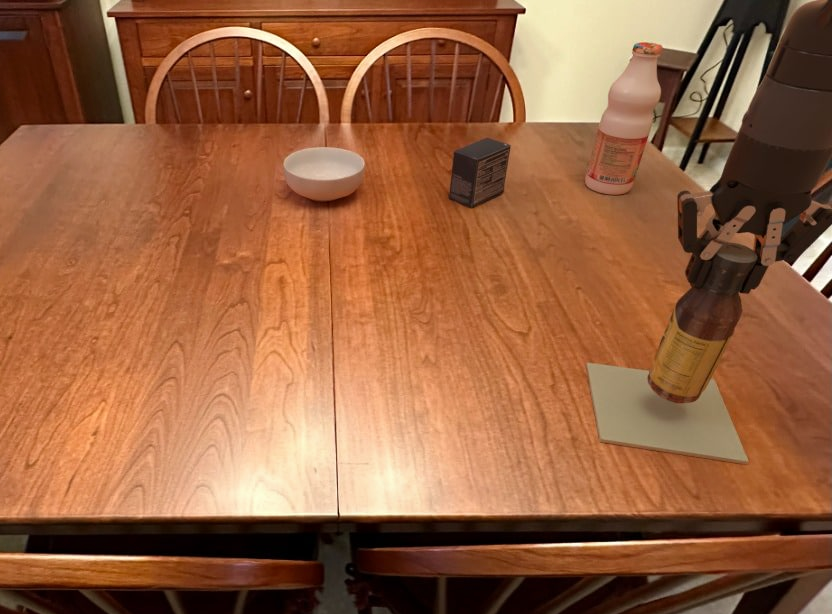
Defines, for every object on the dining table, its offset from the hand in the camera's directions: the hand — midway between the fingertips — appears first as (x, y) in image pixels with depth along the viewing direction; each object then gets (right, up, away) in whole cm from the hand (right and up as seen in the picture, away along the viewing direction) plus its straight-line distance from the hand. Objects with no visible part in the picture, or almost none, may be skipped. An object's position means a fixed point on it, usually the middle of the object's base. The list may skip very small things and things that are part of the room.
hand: (717, 286), depth 65 cm
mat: (0, -15, +12) cm, 19 cm away
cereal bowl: (-42, +22, +62) cm, 78 cm away
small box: (-10, +21, +60) cm, 65 cm away
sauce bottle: (0, -12, +9) cm, 15 cm away
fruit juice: (+18, +24, +63) cm, 70 cm away
